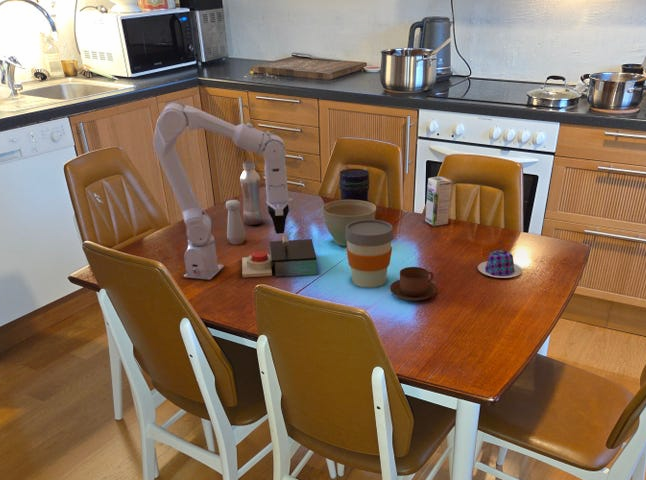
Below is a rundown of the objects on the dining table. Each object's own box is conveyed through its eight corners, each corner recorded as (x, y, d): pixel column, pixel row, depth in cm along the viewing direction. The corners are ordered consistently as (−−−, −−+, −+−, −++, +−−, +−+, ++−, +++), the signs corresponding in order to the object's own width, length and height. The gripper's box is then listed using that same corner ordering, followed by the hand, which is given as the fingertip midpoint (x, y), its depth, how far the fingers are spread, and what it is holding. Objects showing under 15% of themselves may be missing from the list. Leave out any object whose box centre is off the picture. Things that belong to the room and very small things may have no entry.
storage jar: (374, 215, 219) (374, 171, 212) (359, 223, 212) (359, 178, 205) (349, 210, 224) (349, 167, 216) (334, 218, 217) (333, 173, 209)
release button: (252, 263, 178) (251, 257, 177) (251, 257, 182) (251, 251, 181) (267, 262, 179) (267, 256, 178) (267, 256, 182) (266, 250, 181)
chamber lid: (271, 262, 173) (270, 248, 171) (269, 243, 186) (268, 230, 184) (316, 259, 175) (316, 245, 173) (311, 240, 187) (311, 227, 185)
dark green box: (275, 277, 176) (274, 262, 174) (273, 257, 188) (272, 243, 186) (317, 274, 177) (316, 259, 175) (312, 254, 189) (311, 241, 187)
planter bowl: (384, 246, 194) (385, 211, 189) (334, 254, 189) (333, 218, 184) (363, 229, 207) (364, 196, 202) (316, 236, 202) (315, 202, 197)
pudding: (506, 260, 185) (508, 243, 182) (530, 276, 175) (533, 258, 172) (469, 266, 181) (471, 249, 178) (492, 283, 171) (494, 264, 169)
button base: (242, 277, 176) (241, 268, 174) (242, 260, 186) (241, 251, 184) (274, 275, 177) (273, 266, 175) (272, 258, 187) (271, 249, 185)
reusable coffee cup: (352, 292, 167) (352, 238, 159) (340, 274, 177) (339, 221, 169) (398, 287, 170) (400, 232, 162) (383, 269, 180) (384, 217, 172)
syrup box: (424, 221, 214) (426, 177, 206) (439, 218, 216) (442, 175, 208) (433, 226, 209) (436, 182, 202) (448, 224, 211) (452, 180, 204)
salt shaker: (248, 239, 201) (244, 198, 194) (244, 245, 196) (239, 204, 189) (230, 238, 201) (225, 197, 195) (225, 245, 196) (220, 203, 190)
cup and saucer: (407, 281, 173) (408, 259, 170) (445, 292, 166) (447, 270, 163) (380, 296, 165) (381, 274, 162) (419, 309, 159) (420, 286, 155)
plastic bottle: (240, 226, 211) (234, 164, 201) (249, 219, 216) (243, 159, 206) (258, 227, 209) (253, 165, 199) (266, 221, 215) (262, 160, 204)
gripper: (293, 190, 164) (296, 241, 171) (289, 175, 176) (292, 223, 184) (265, 192, 163) (269, 242, 170) (264, 176, 176) (268, 224, 183)
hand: (280, 232), depth 177 cm, fingers closed
